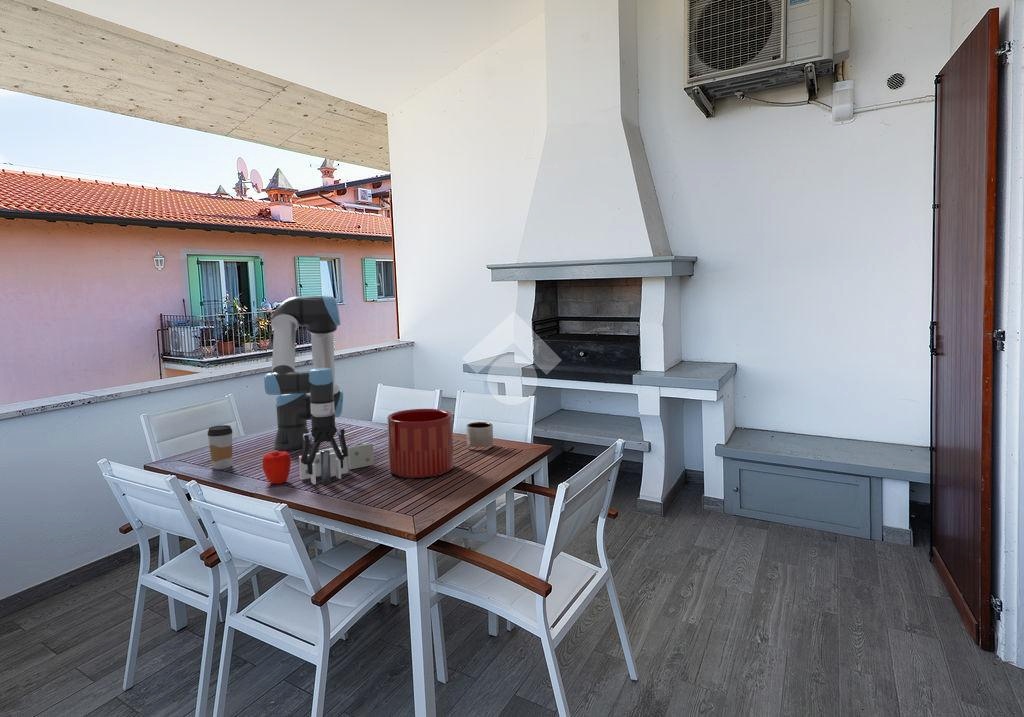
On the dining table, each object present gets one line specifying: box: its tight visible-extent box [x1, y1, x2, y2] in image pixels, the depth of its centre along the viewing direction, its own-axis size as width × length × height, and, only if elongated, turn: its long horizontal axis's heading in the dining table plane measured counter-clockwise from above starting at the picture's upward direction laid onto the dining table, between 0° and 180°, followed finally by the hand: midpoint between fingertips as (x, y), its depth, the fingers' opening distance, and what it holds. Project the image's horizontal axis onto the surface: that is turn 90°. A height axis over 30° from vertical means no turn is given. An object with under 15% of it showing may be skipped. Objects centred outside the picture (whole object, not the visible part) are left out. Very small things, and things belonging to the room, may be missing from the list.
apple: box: [262, 450, 292, 485], centre depth 194 cm, size 9×9×11 cm
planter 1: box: [386, 408, 454, 479], centre depth 207 cm, size 23×23×20 cm
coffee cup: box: [207, 424, 234, 470], centre depth 213 cm, size 8×8×15 cm
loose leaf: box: [347, 442, 375, 470], centre depth 211 cm, size 2×9×8 cm, turn 125°
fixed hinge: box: [298, 446, 349, 481], centre depth 203 cm, size 7×15×8 cm, turn 127°
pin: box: [320, 449, 332, 485], centre depth 194 cm, size 3×3×11 cm
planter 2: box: [466, 421, 494, 448], centre depth 236 cm, size 11×11×10 cm
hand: (326, 480), depth 195 cm, fingers open, 8 cm apart
